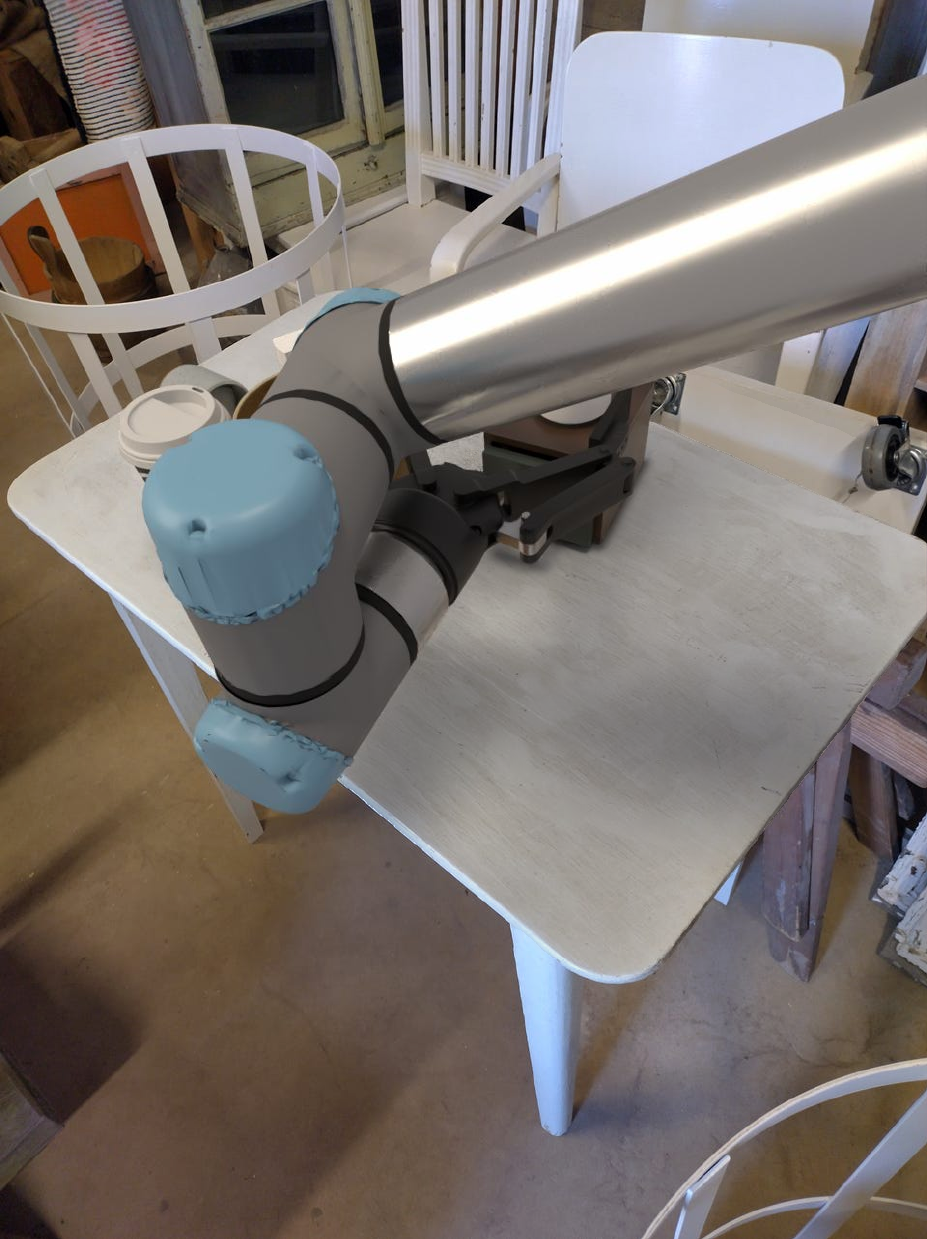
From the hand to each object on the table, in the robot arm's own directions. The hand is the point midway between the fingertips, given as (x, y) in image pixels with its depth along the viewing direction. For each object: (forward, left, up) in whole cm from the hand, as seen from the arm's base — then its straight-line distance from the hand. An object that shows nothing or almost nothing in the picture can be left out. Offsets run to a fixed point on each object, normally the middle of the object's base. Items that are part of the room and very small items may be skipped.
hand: (538, 380), depth 61 cm
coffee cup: (+29, +10, -19) cm, 36 cm away
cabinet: (+1, -10, -19) cm, 21 cm away
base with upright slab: (+27, -9, -19) cm, 34 cm away
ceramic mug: (+40, -2, -19) cm, 44 cm away
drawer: (+1, -6, -18) cm, 19 cm away
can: (+1, -10, -9) cm, 14 cm away
